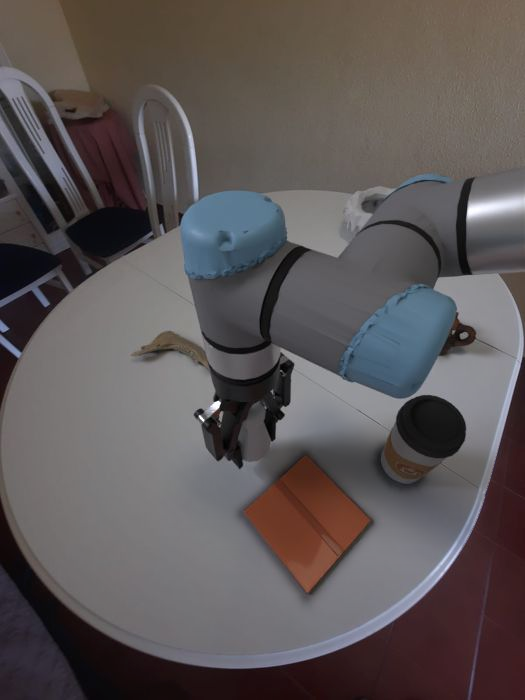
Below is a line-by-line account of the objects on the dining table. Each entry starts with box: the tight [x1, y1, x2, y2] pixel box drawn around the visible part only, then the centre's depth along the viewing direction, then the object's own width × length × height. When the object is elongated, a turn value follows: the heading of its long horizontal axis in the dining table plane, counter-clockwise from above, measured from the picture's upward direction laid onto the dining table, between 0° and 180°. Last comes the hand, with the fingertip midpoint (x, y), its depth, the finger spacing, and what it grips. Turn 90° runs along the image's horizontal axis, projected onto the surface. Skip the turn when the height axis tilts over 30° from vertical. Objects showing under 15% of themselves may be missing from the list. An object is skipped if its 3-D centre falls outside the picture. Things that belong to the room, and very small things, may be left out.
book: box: [243, 454, 372, 594], centre depth 49 cm, size 13×13×1 cm
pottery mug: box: [439, 310, 477, 355], centre depth 69 cm, size 12×10×8 cm
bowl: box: [342, 185, 397, 234], centre depth 93 cm, size 21×20×10 cm
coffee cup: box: [380, 394, 467, 485], centre depth 48 cm, size 8×8×15 cm
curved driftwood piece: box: [130, 330, 209, 370], centre depth 69 cm, size 9×20×2 cm, turn 75°
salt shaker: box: [237, 400, 272, 463], centre depth 48 cm, size 6×6×13 cm
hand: (252, 447), depth 52 cm, fingers closed on salt shaker, 6 cm apart
